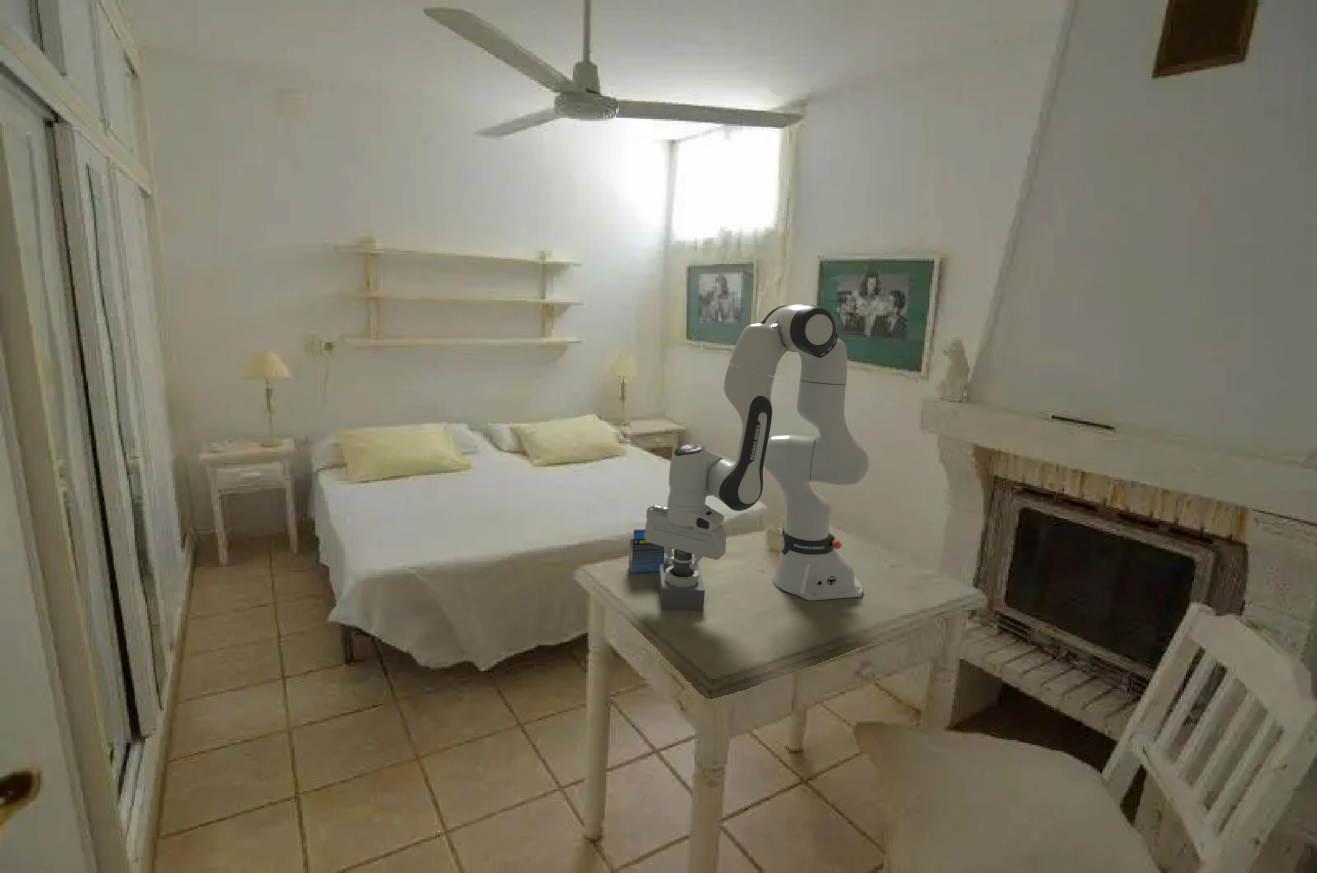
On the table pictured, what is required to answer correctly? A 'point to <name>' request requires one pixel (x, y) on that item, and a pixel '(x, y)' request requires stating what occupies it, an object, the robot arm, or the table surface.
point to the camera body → (680, 589)
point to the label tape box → (644, 554)
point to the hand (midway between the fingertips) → (682, 566)
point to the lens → (682, 563)
